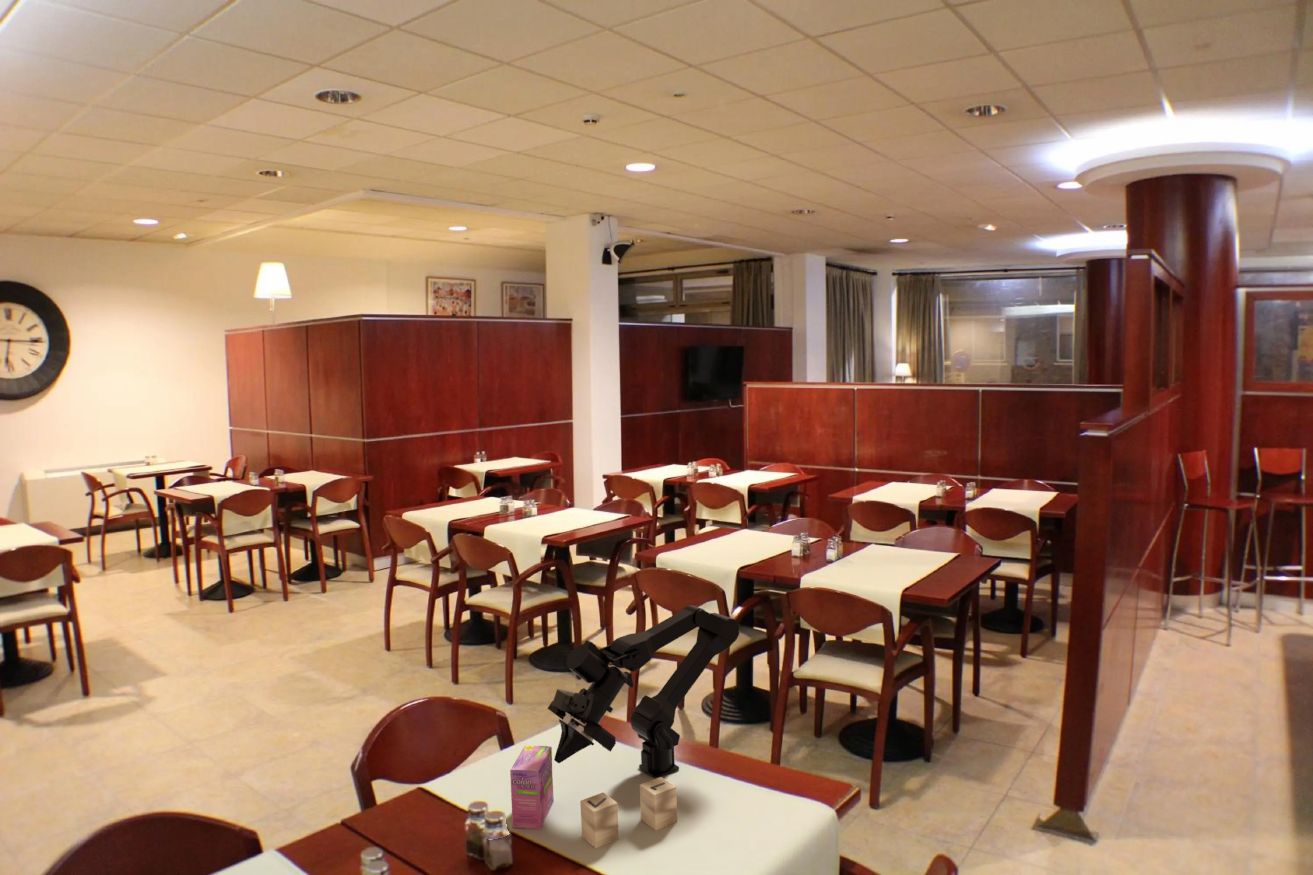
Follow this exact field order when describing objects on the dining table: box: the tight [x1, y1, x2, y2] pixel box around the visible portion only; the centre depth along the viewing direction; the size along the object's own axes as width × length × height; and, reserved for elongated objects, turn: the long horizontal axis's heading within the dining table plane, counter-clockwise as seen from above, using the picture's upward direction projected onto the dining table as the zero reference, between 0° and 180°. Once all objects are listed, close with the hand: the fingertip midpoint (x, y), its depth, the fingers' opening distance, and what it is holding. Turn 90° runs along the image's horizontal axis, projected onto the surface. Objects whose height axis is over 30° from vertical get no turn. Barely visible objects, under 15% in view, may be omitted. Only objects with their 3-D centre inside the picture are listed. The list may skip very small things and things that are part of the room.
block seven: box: [579, 792, 620, 849], centre depth 160 cm, size 5×5×7 cm
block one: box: [639, 776, 678, 831], centre depth 165 cm, size 5×5×7 cm
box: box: [509, 745, 555, 830], centre depth 169 cm, size 10×6×12 cm, turn 172°
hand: (556, 761), depth 171 cm, fingers closed
